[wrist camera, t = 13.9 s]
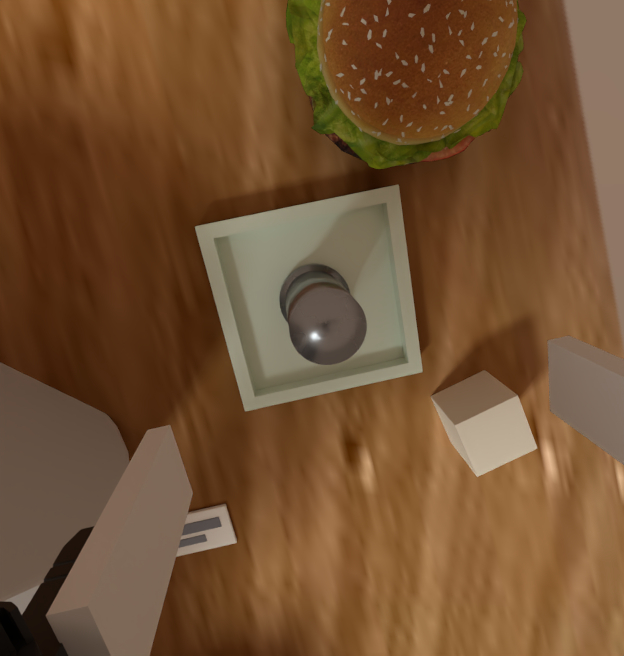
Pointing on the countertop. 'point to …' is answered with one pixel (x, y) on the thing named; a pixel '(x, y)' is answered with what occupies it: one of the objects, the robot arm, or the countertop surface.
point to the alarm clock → (49, 477)
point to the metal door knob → (322, 314)
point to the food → (406, 72)
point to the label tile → (206, 530)
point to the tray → (297, 250)
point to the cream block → (484, 422)
